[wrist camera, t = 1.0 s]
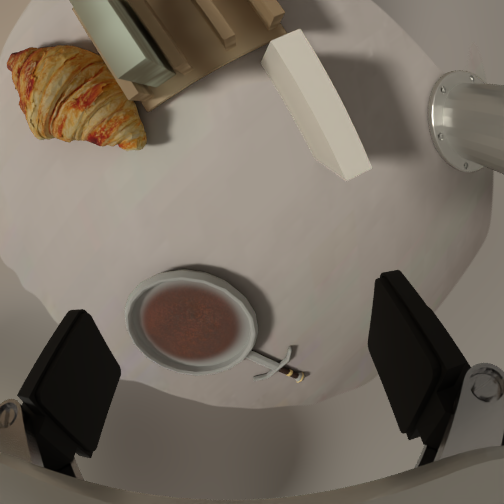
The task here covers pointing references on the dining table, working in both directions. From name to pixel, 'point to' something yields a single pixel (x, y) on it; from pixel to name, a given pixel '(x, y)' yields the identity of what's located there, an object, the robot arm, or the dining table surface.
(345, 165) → the white rectangular slab
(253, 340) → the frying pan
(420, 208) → the dining table surface
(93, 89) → the croissant
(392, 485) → the robot arm
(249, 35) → the rack
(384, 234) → the dining table surface
